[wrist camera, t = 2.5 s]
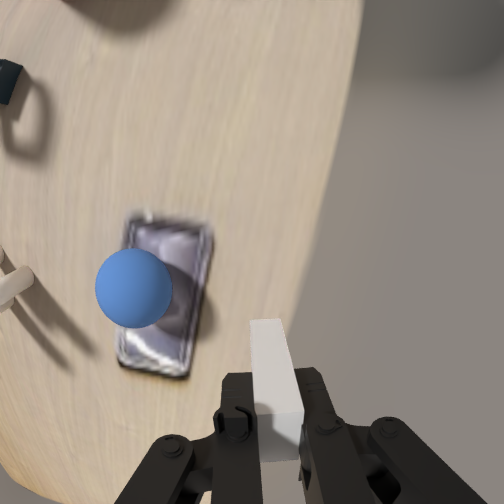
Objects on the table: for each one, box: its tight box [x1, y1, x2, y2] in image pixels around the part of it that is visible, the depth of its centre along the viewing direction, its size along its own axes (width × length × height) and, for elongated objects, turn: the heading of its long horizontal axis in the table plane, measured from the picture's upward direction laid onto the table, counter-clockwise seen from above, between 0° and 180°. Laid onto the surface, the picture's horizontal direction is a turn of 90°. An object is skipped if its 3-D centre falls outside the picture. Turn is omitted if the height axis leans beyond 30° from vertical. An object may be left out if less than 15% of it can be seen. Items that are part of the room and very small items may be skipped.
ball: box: [95, 249, 172, 328], centre depth 21 cm, size 6×6×6 cm
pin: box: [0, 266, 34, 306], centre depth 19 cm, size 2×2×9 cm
